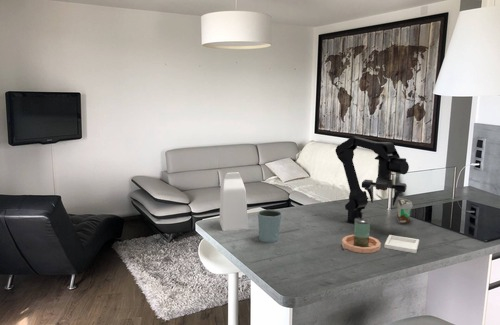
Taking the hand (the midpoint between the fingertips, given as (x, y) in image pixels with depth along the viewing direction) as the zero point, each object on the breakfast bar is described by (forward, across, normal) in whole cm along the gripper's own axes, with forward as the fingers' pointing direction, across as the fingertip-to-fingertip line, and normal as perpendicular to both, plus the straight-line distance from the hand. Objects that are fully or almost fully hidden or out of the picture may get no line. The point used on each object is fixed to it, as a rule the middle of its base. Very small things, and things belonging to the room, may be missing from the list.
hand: (382, 203), depth 181 cm
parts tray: (+13, +11, -16) cm, 23 cm away
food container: (+13, +8, +20) cm, 25 cm away
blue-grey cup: (+13, -42, -32) cm, 55 cm away
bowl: (+13, -4, -24) cm, 28 cm away
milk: (+13, -64, -25) cm, 70 cm away
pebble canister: (+12, -4, -24) cm, 27 cm away
